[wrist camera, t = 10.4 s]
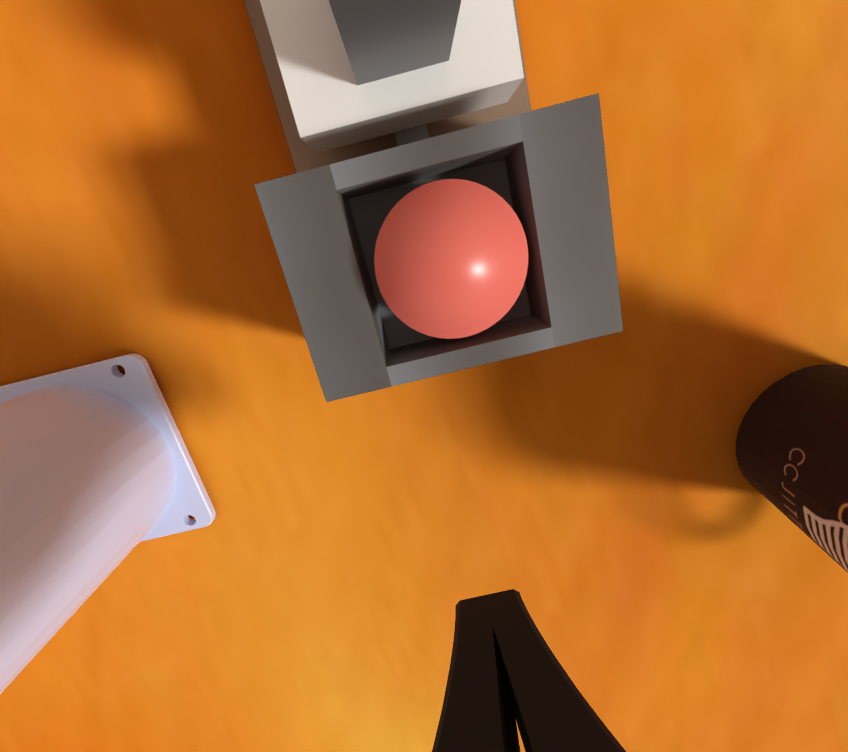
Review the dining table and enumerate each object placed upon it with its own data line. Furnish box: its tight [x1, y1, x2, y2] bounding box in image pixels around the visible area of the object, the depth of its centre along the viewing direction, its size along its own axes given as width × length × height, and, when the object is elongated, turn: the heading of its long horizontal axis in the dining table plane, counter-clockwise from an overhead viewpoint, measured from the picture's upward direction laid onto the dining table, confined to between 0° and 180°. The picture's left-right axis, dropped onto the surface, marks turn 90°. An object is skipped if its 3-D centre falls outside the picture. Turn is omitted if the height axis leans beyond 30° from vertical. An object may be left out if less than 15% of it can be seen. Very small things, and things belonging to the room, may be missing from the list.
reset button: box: [374, 179, 528, 339], centre depth 11 cm, size 4×4×2 cm
